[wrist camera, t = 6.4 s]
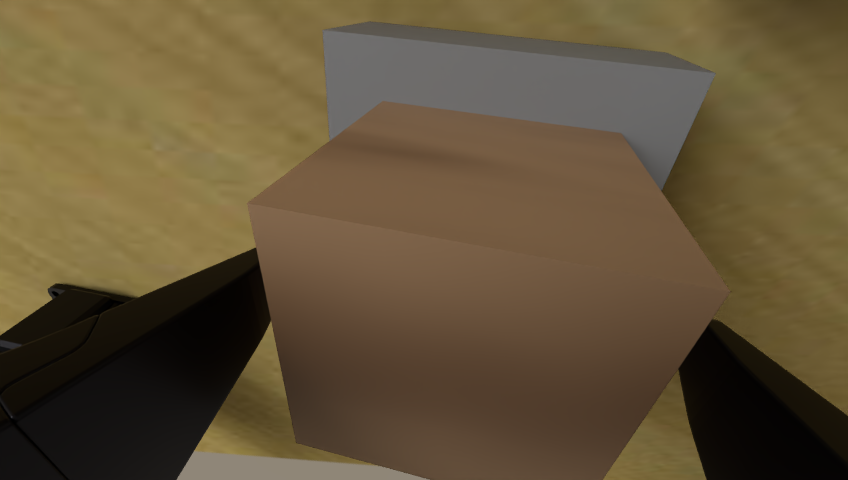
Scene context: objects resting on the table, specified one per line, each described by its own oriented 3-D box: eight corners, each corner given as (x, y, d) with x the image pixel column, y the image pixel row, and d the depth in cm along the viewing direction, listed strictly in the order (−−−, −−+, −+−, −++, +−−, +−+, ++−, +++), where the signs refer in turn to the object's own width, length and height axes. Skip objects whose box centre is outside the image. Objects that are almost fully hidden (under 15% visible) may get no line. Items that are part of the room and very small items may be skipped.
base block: (575, 288, 16) (586, 353, 13) (370, 249, 17) (339, 300, 14) (666, 52, 11) (716, 73, 8) (369, 21, 12) (322, 29, 9)
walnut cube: (555, 313, 13) (575, 519, 8) (380, 277, 13) (296, 443, 8) (621, 133, 9) (730, 291, 4) (382, 100, 10) (247, 202, 5)
